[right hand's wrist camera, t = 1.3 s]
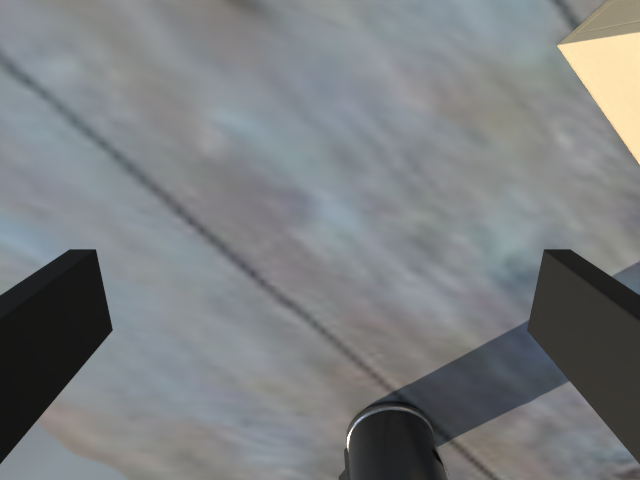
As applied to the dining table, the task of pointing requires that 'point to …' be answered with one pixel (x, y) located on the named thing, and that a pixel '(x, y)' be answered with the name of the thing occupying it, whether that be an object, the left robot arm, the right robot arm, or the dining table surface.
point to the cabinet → (611, 64)
